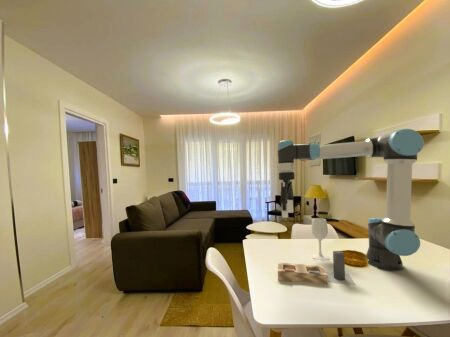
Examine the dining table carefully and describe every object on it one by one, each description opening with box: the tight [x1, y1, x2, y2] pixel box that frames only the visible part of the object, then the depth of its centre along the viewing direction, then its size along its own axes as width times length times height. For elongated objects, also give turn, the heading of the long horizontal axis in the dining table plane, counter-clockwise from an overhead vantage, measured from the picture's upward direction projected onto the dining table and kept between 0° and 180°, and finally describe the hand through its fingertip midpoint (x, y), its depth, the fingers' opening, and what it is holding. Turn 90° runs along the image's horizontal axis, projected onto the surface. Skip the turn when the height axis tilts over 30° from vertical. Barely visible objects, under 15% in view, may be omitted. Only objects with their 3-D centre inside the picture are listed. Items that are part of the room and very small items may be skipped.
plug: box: [332, 250, 346, 280], centre depth 96 cm, size 4×4×11 cm
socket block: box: [277, 262, 328, 285], centre depth 98 cm, size 20×9×5 cm, turn 76°
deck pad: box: [326, 271, 356, 286], centre depth 96 cm, size 10×10×1 cm
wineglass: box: [311, 217, 330, 261], centre depth 119 cm, size 9×9×21 cm
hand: (288, 214), depth 108 cm, fingers open, 13 cm apart
